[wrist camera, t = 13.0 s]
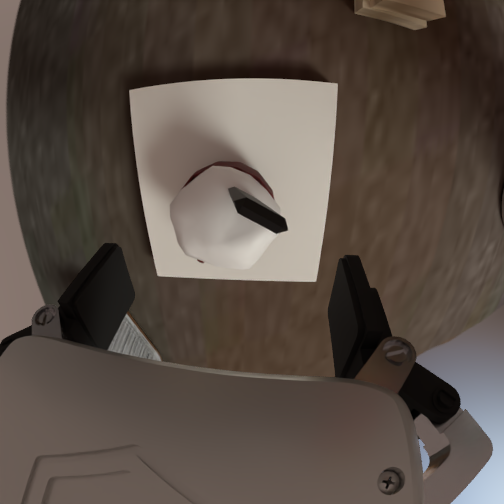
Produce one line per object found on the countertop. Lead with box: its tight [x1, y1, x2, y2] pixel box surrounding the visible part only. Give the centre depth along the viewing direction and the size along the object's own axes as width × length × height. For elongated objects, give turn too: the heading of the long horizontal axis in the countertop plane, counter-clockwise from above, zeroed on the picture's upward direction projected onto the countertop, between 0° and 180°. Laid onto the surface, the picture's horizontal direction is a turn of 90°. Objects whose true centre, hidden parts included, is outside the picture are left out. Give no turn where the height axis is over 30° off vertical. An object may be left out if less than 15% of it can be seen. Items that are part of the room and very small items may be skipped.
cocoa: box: [170, 161, 288, 270], centre depth 15 cm, size 10×6×12 cm, turn 129°
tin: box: [108, 312, 163, 361], centre depth 29 cm, size 15×3×8 cm, turn 16°
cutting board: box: [129, 78, 338, 282], centre depth 21 cm, size 14×16×2 cm
